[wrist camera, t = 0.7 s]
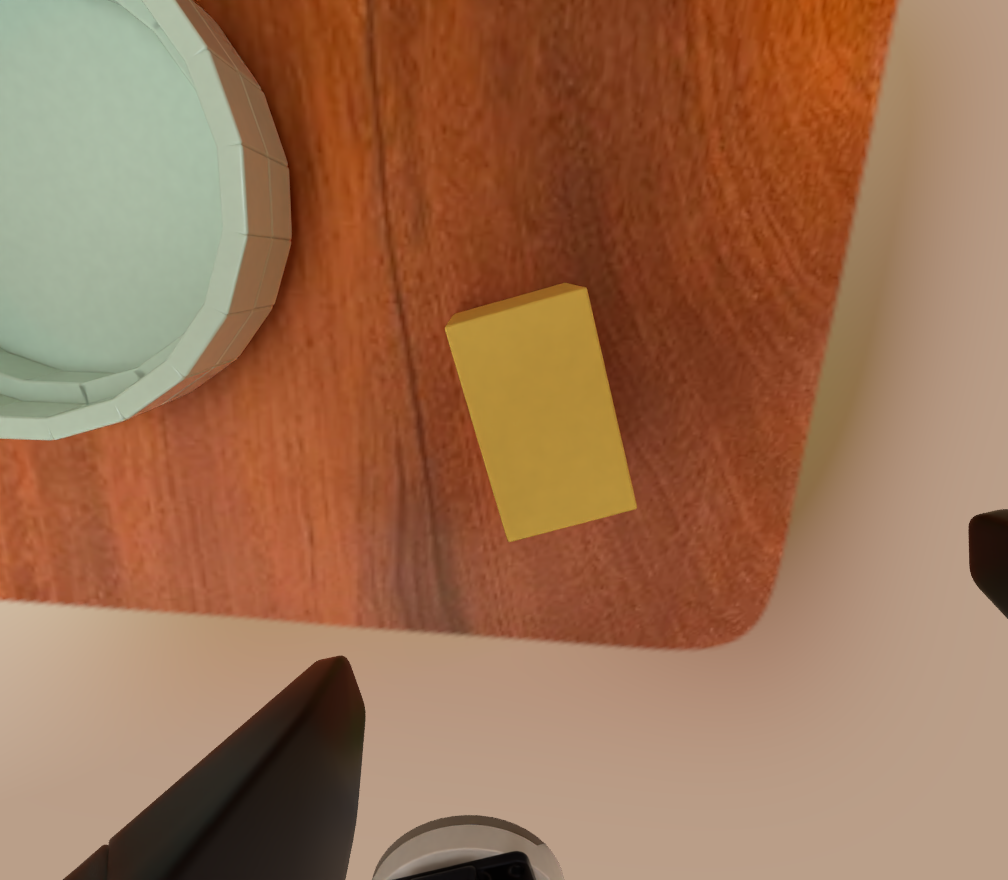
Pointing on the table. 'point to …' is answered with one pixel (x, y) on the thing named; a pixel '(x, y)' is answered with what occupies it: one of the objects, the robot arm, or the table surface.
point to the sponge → (542, 410)
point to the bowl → (128, 210)
